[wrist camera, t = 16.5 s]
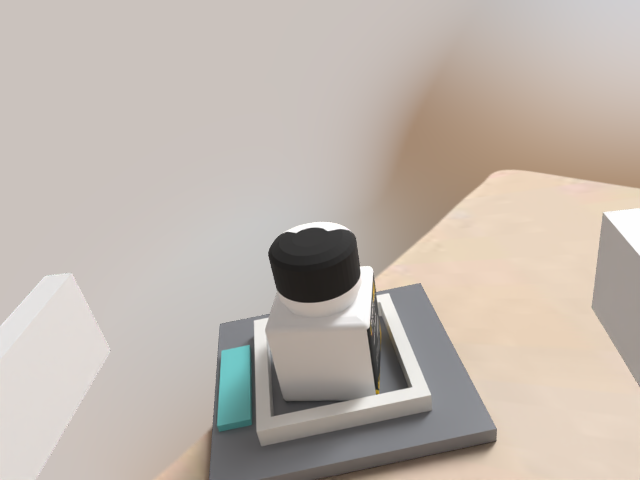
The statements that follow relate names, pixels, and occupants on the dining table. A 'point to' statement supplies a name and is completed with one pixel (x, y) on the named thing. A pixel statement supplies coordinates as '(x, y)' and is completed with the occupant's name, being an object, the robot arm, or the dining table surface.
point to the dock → (345, 403)
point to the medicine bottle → (323, 316)
